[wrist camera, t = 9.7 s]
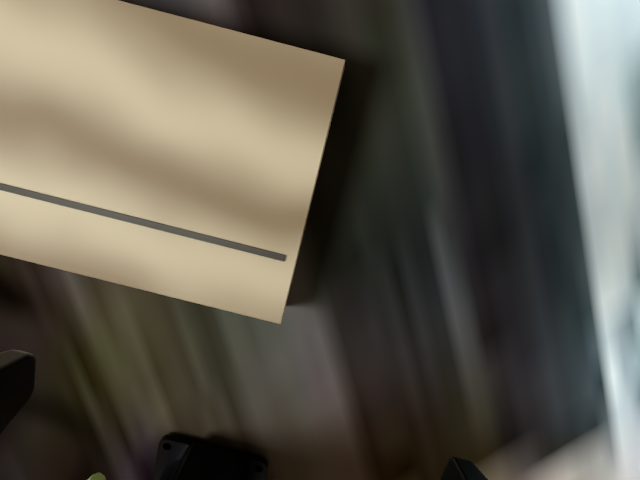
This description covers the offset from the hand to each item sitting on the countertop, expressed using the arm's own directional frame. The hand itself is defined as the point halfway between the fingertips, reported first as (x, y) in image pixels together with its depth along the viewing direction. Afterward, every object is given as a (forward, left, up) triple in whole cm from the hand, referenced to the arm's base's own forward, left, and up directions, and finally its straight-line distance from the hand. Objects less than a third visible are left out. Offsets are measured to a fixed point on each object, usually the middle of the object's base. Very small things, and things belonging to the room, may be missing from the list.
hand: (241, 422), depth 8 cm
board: (+3, +14, -12) cm, 19 cm away
